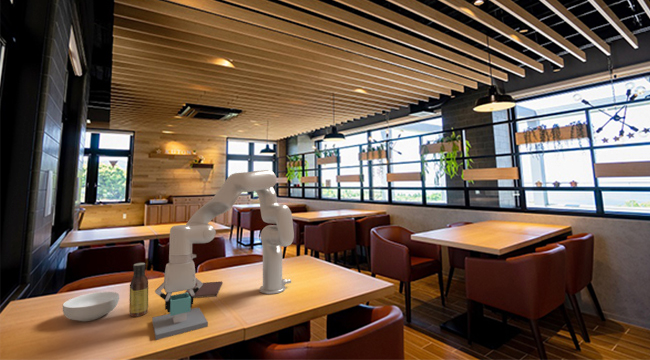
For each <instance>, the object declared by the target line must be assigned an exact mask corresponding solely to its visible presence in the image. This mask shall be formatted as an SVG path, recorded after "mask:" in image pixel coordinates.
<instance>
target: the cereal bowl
mask: <svg viewBox="0 0 650 360" xmlns="http://www.w3.org/2000/svg"><path fill="white" fill-rule="evenodd" d="M119 300H120V294H119V293H118V292H116V291H98V292H96V291H95V292H91V293H85V294H81V295H78V296H75V297H73V298H72V297H71V298H70V299H67V300H66V301H65V302H64V303H62V312H63V315H64V316H65V317H66V318H67V319H69V320H73V321H79V322H91V321H94V320H98V319H100V318H102V317H103V316H104V315H106V314H109V313H111V311H113V310H114V309H115V308H116V307H117V305H118V304H119Z"/></svg>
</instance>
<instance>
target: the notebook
mask: <svg viewBox="0 0 650 360" xmlns="http://www.w3.org/2000/svg"><path fill="white" fill-rule="evenodd" d="M202 283H203V285H202V286H201V288H199V290H198V291H197V292H196V293H195V295H194V298H193V299H200V298H201V299H202V298H214V297H217V296H218V294H219V293H220V290H221V288H222V285H223V281H222V280H221V281H210V282H208V281H205V282H202ZM197 285H198V284H197V283H196V284H195V287H196V286H197ZM195 287H194V288H195ZM194 288H193V289H194ZM187 292H188V294H189V293H190V292H189V290H185V292H184V293H187Z"/></svg>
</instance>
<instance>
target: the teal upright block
mask: <svg viewBox="0 0 650 360" xmlns="http://www.w3.org/2000/svg"><path fill="white" fill-rule="evenodd" d="M191 309H192V307H191V297H190V295H189V294H188V292H187V293H185V292H181V293H176V294H171V296H170V312H168V314H170V316H172V315H177V314H181V313H186V312H190V311H191Z"/></svg>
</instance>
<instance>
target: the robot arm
mask: <svg viewBox="0 0 650 360" xmlns="http://www.w3.org/2000/svg"><path fill="white" fill-rule="evenodd" d="M276 183H277V176H276V173H274V171H272V170H269V169H265V170H264V169H263V170H254V171H247V172H245V171H244V172H235V173H232V174H230V175H229V176H228V177H227V178H226V180H225V181H224V182H223V184H222V185H221V187H220V188H219V190H217V192H216V193H215V194H214V196H213V197H212V198H211V199H210V200H208V201H207V202H206V203H205V204H203V205H202V206H201V207H200V208H198V209H197V210H196V211H195V212H194V214H192V216H191V217H190V218H189V220H188V221H187V223H186V224H177V225H173V226H171V227H170V229H169V252H168V253H169V254H168V263H166V265H165V270H164V279H163V282H162V283H161V284H160V285H159V286H158V287H157V288H156V289H155V290H154V293H155V294H156V295H157V296H159V297H160V298H161V299H162V300H164V302H165V303H164V306H165V307H164V309H165V310H166V311H167V313H169V312H170V296H171V295H173V293H177V292H179V293H180V292H183V291H187V290H189V292H190V293H189V295H190V297H191V308H192V307H193V305H194V299H195V298H194V295H195V293H196V292H197V291H198V290H199V288H201V286H202V285H203V283H204V282H202V281H201V280H199V279H198V278H197V277H196V268H195V267H196V266H195V262H194V260H193V259H196V258H197V254H196V253H193V245H194V244H206V243H207V244H208V243H210V242H211V241H213V240H214V239H215V236H216V234H217V232H216V228H215V227H214V226H213V225H211V224H209V223H210V222H211V221H212V220H213V219H215V218H216V217H218V216H220V215H222V214H224V213H226V212H229V211H230V210H231V209H232V208H233V206H234V204H235V203H236V202H237V200H238V199H239V197H240V196H241V194H242V193H250V192H251V193H252V192H255V193H256V194H257V196H258V201H259V209H260V215H261V219H262V221H263V222H264V223H267V224H269V225H266V226H265V227H263V229H262V230H261V233H260V241H261V246H262V285H261V286H260V287H259V289H258V290H259V292H260V293H261V294H266V295H273V294H274V295H275V294H280V293H282V292H284V291H285V290H286V285H287V284H291V283H292V279H291V278H289V279H286V278H284V279H283V251H282V247H289V246H291V244H292V243H293V242H294V238H295V233H294V232H295V231H294V222H293V214H292V210H291V209H290V208H289V206H288V205H286V204H284V203H283V204H280V203H278V198H277V192H276V191H275V188H274V186H275V185H276ZM272 224H273V225H272ZM196 283H197V284H198V285H197V286H196V287H195V284H196ZM194 287H195V288H194ZM193 288H194V289H193ZM163 290H164V292H165V293H164V292H162V291H163Z"/></svg>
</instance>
